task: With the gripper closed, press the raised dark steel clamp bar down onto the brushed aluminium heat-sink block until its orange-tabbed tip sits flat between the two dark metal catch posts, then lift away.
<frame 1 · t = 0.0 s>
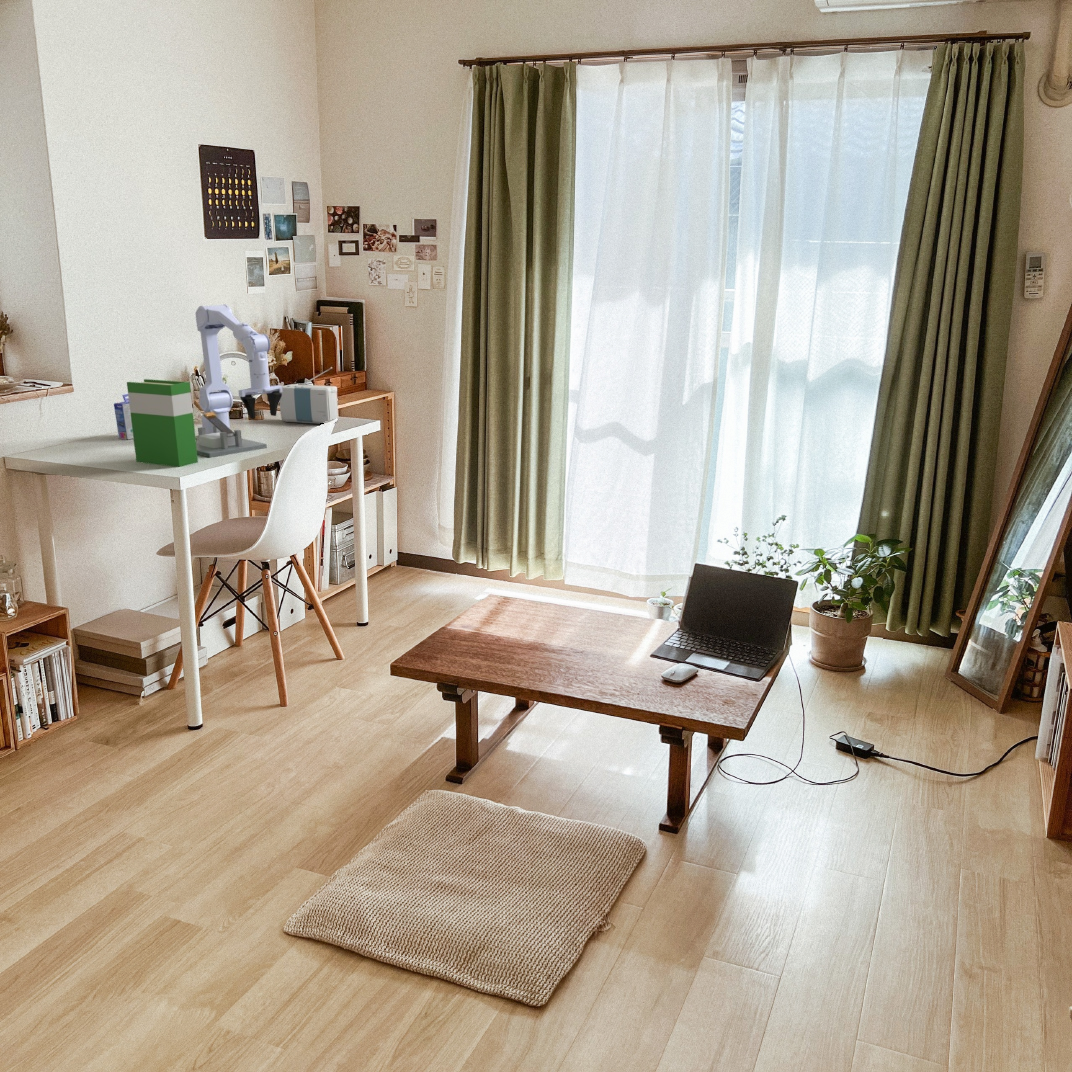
hand: (263, 417, 326), 10 cm above the table, fingers open, 7 cm apart
ink cartridge box: (135, 437, 351), on the table
hardback book: (167, 462, 311), on the table
stereo radio cassette player: (310, 423, 375), on the table
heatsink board: (220, 448, 331), on the table
clamp bar: (219, 424, 328), point 8 cm above the table, hinge at 22.0°
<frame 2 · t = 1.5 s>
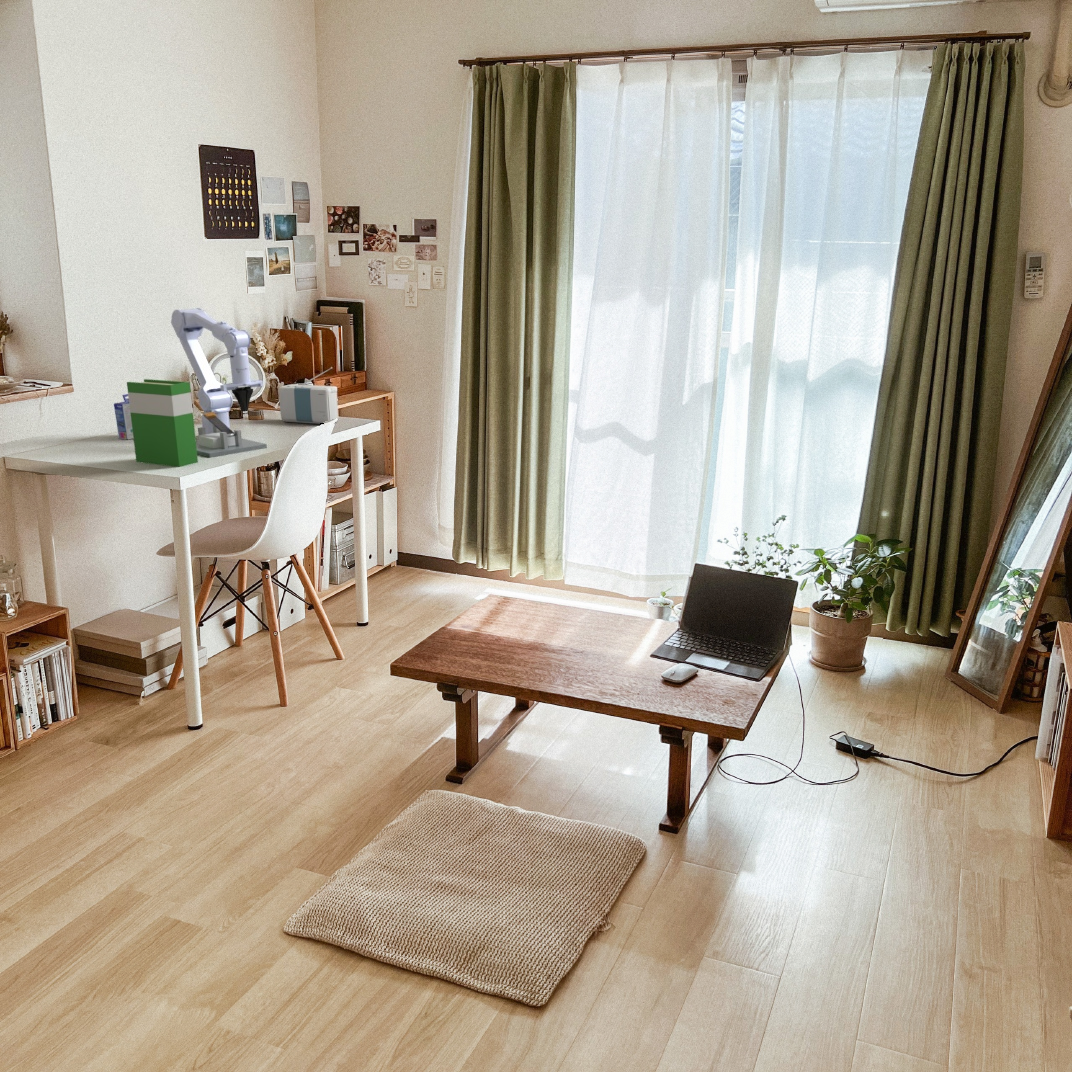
hand: (244, 411, 336), 10 cm above the table, fingers closed
nothing on the table moved.
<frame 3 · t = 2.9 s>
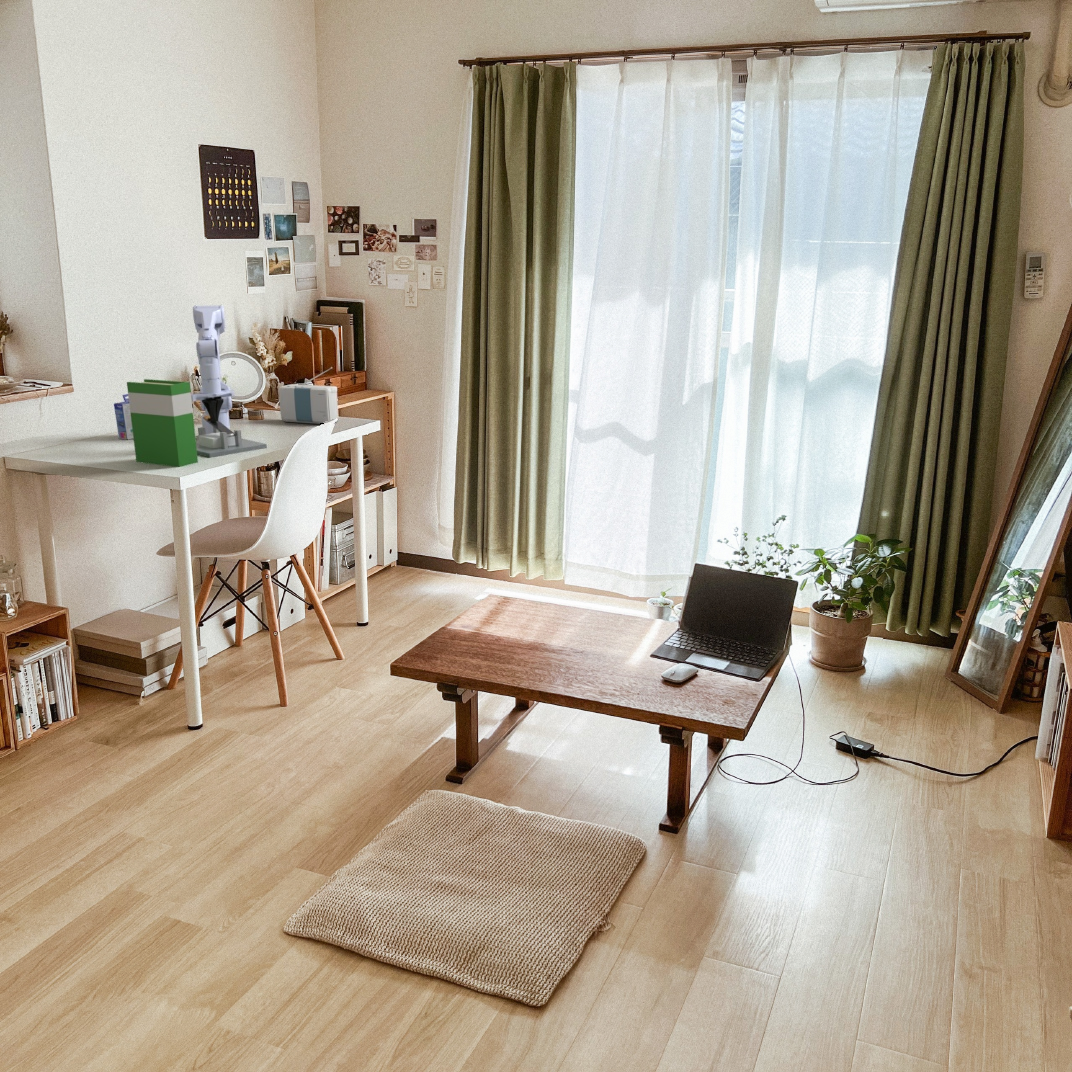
hand: (214, 421, 329), 8 cm above the table, fingers closed, pressing on clamp bar
clamp bar: (219, 425, 328), point 7 cm above the table, hinge at 17.7°, touching gripper
everything else where it was.
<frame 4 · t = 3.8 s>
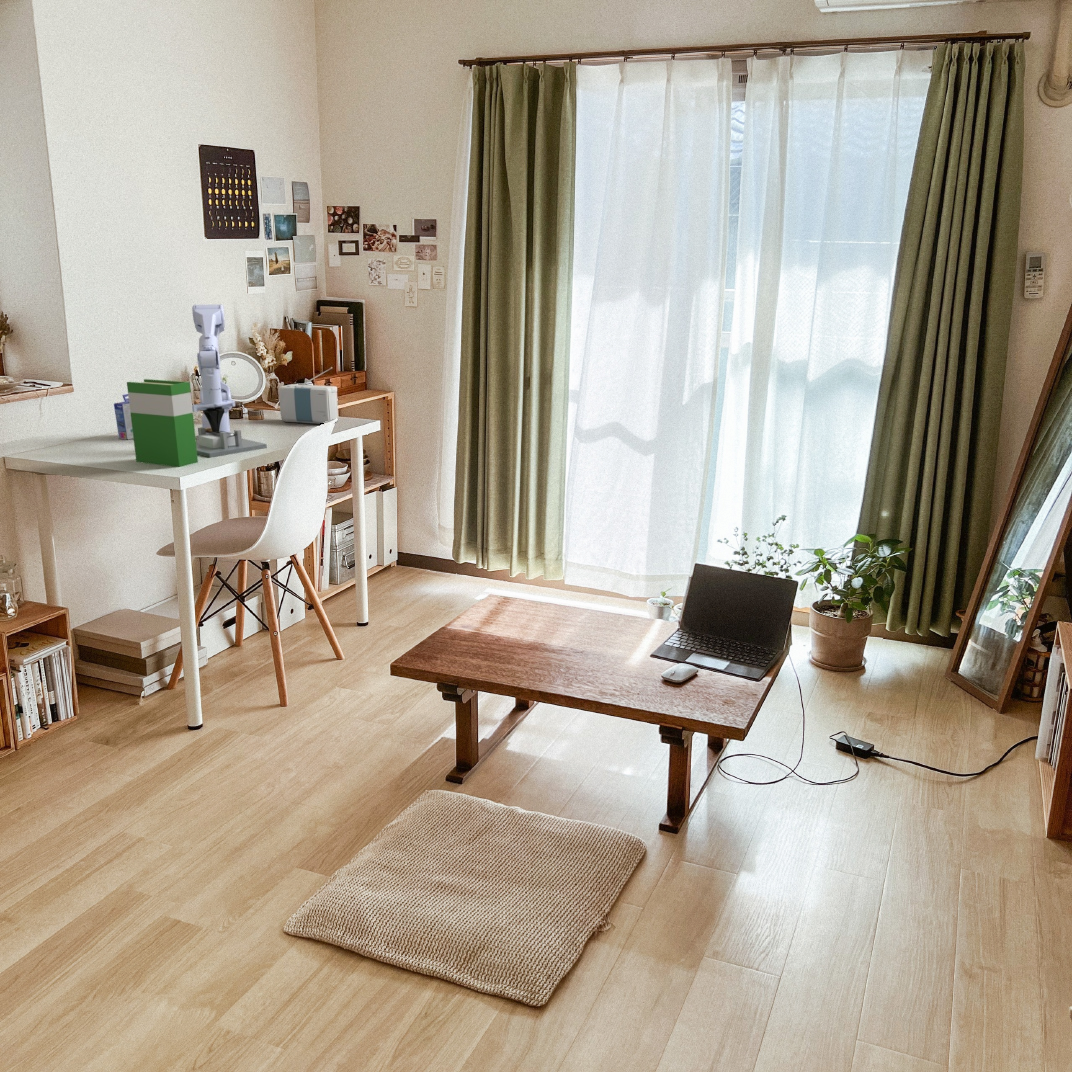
hand: (215, 431, 330), 5 cm above the table, fingers closed, pressing on clamp bar
clamp bar: (219, 432, 329), point 5 cm above the table, hinge at -0.6°, touching gripper
everything else where it was.
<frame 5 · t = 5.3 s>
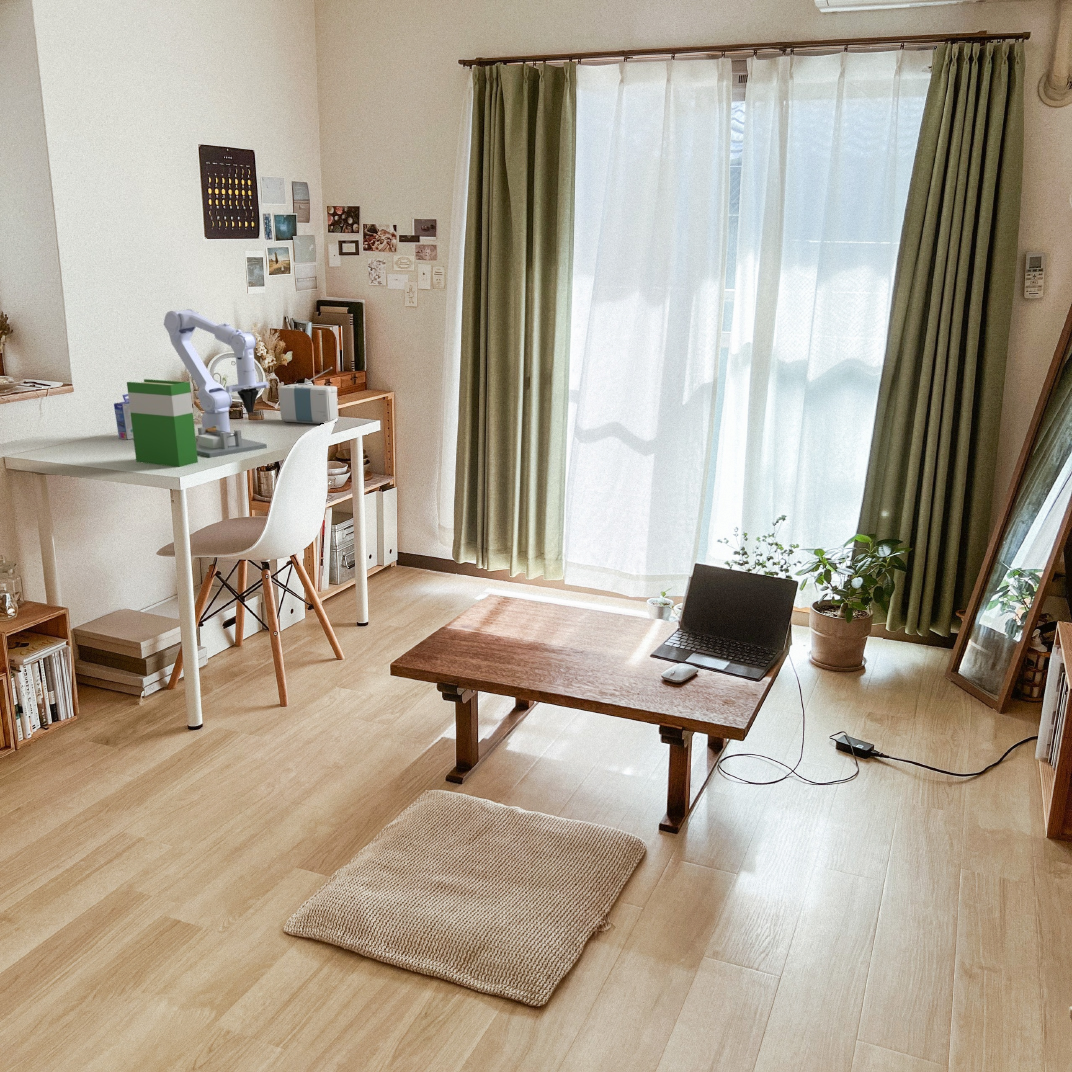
hand: (249, 412, 340), 9 cm above the table, fingers closed
clamp bar: (219, 432, 329), point 5 cm above the table, hinge at -0.6°
everything else where it was.
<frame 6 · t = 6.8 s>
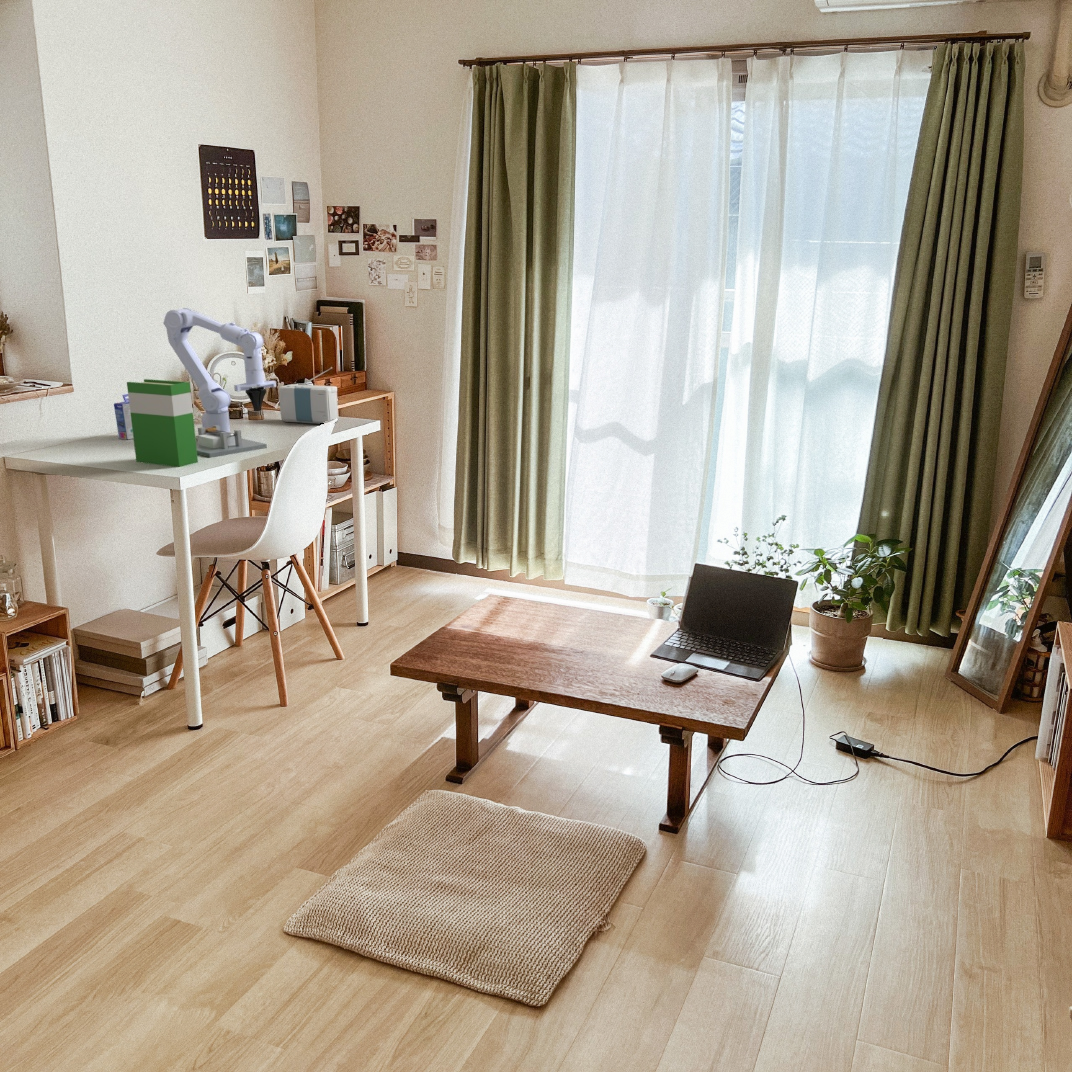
hand: (257, 410, 342), 9 cm above the table, fingers closed
nothing on the table moved.
at the end: clamp bar at -1° (first picture: +22°) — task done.
